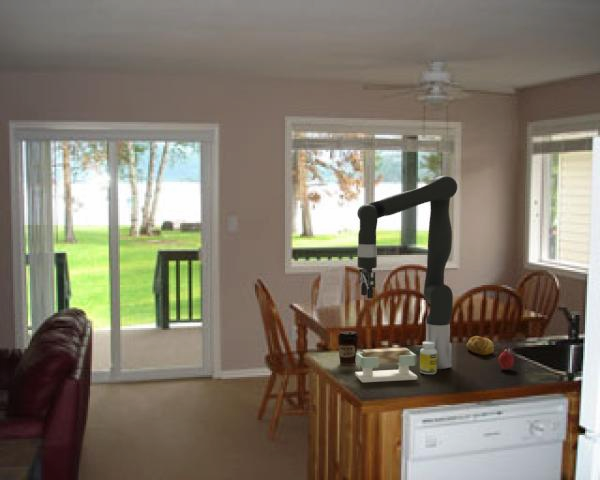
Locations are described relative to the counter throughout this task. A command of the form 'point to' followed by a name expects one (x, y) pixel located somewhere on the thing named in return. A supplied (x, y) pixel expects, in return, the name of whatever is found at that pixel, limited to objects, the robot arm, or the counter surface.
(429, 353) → the pill bottle
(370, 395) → the counter surface
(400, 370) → the bracket stand
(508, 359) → the onion
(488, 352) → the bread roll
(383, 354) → the tan rectangular bar
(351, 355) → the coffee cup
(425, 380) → the counter surface
